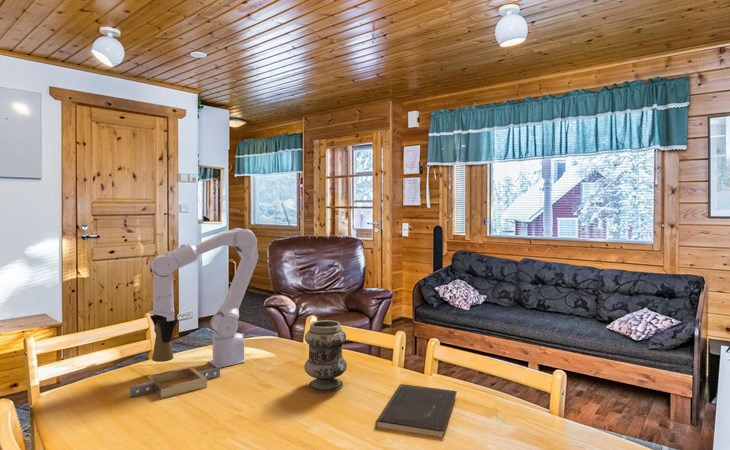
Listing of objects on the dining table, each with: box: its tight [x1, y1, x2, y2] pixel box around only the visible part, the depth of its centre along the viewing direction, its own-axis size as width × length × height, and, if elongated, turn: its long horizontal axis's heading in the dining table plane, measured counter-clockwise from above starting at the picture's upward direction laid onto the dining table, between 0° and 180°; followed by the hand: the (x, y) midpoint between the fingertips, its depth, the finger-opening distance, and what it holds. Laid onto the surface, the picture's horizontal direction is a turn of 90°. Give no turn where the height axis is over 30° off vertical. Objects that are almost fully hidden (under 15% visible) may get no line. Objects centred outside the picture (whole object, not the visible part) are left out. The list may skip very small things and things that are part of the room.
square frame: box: [129, 366, 221, 400], centre depth 134 cm, size 24×12×2 cm, turn 129°
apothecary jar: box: [303, 319, 348, 393], centre depth 134 cm, size 12×12×18 cm
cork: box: [151, 323, 174, 363], centre depth 142 cm, size 6×6×11 cm
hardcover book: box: [375, 383, 458, 437], centre depth 118 cm, size 16×23×2 cm
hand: (164, 339), depth 142 cm, fingers closed on cork, 5 cm apart
